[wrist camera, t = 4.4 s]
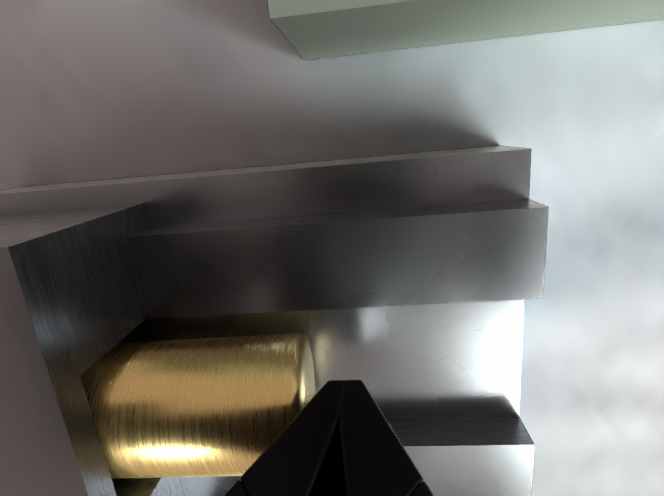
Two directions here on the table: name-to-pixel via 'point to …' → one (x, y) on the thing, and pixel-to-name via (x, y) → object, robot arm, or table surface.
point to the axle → (196, 402)
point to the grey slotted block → (280, 302)
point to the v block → (439, 21)
